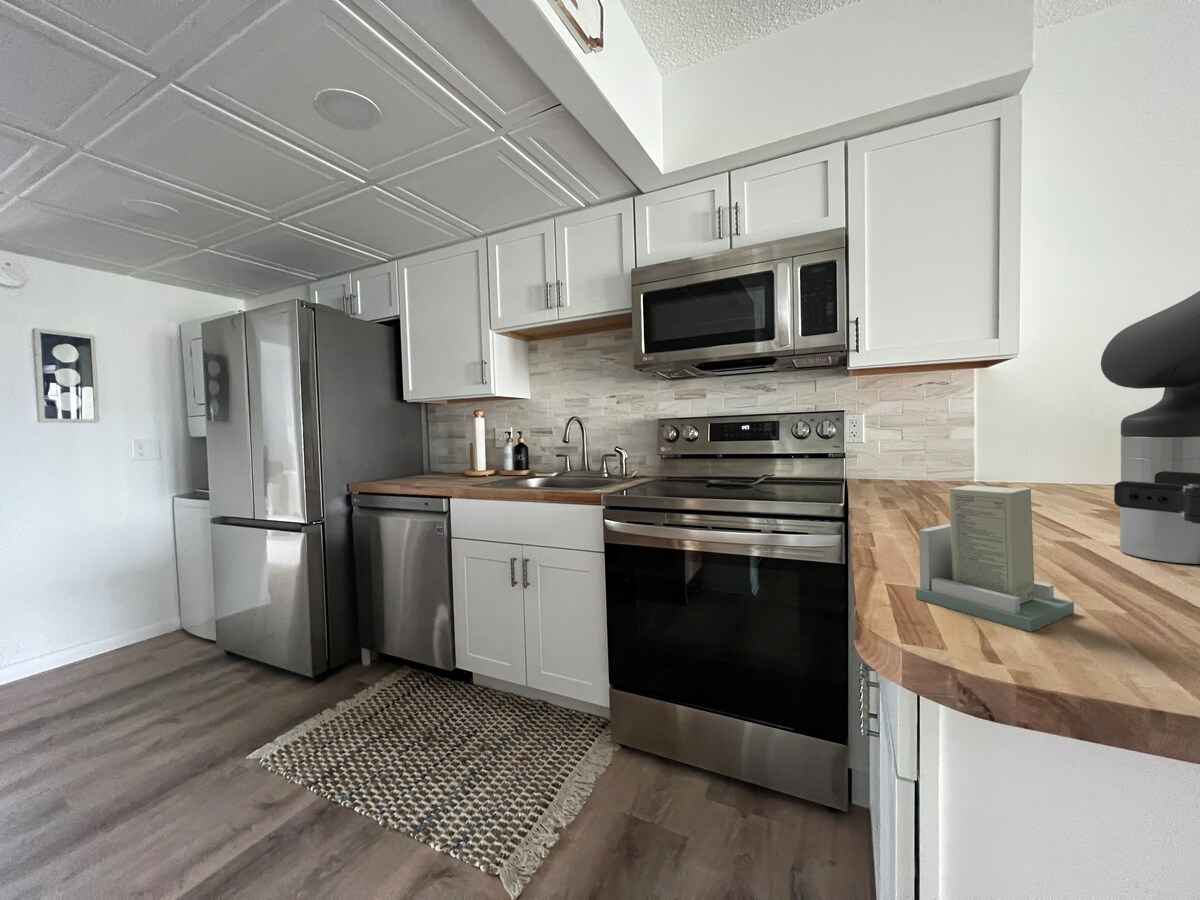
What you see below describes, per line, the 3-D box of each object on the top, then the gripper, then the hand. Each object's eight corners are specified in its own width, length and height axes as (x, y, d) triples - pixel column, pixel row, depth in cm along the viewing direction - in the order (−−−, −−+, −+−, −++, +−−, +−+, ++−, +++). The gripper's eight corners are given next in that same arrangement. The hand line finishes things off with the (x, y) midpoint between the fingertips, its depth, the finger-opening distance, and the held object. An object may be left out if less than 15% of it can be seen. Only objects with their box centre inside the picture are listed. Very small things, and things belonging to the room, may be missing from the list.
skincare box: (1035, 600, 52) (1035, 488, 51) (1014, 608, 50) (1013, 492, 50) (970, 584, 58) (969, 483, 57) (948, 591, 56) (947, 487, 55)
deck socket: (959, 584, 61) (958, 520, 61) (1074, 613, 51) (1074, 536, 51) (916, 598, 57) (915, 530, 57) (1030, 632, 47) (1030, 549, 47)
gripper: (1536, 446, 32) (1168, 440, 46) (1521, 467, 26) (1102, 452, 40) (1526, 558, 32) (1165, 517, 47) (1510, 604, 26) (1100, 541, 41)
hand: (1136, 487), depth 43 cm, fingers open, 8 cm apart
